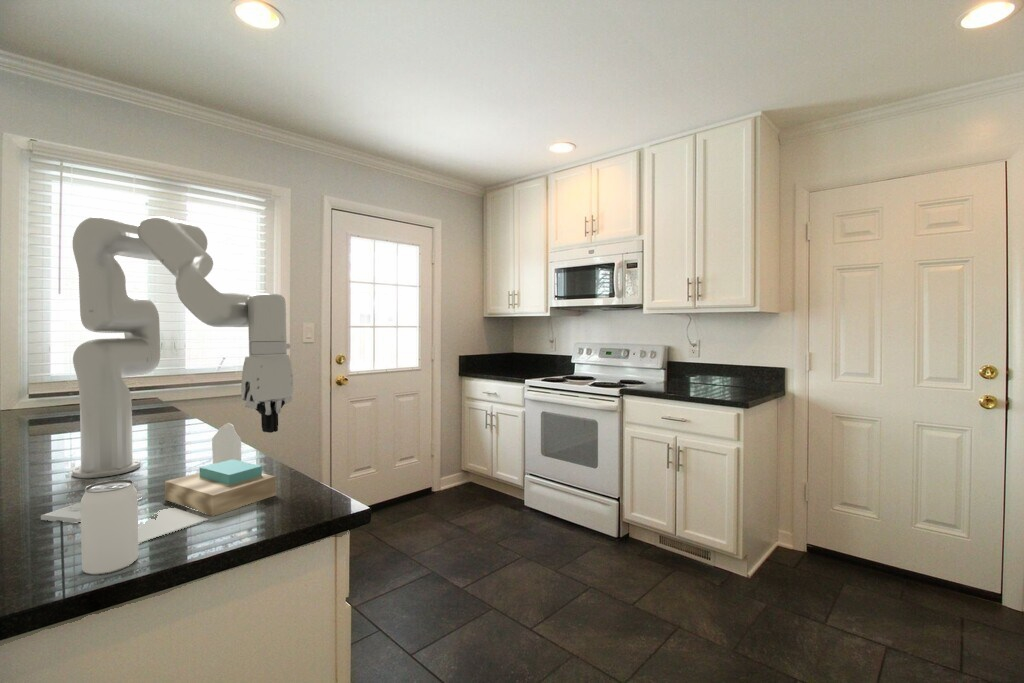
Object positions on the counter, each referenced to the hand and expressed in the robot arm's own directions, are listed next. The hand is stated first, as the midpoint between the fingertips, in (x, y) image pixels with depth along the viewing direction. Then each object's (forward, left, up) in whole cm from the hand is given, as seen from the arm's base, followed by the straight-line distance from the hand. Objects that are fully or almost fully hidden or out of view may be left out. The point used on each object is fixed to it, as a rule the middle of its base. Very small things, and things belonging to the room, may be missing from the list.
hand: (270, 431), depth 109 cm
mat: (-1, -24, -12) cm, 27 cm away
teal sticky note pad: (-1, -9, -8) cm, 12 cm away
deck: (-1, -11, -12) cm, 16 cm away
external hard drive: (-16, -26, -13) cm, 33 cm away
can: (+12, -35, -12) cm, 39 cm away
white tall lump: (-16, 0, -12) cm, 20 cm away
